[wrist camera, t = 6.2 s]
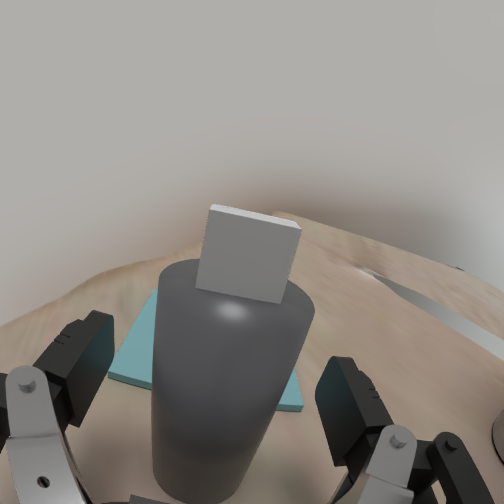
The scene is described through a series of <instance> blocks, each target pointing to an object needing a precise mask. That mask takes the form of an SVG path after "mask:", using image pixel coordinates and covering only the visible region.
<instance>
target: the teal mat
mask: <svg viewBox="0 0 504 504" xmlns="http://www.w3.org/2000/svg"><path fill="white" fill-rule="evenodd" d="M157 292H158V289H157V288H155V289H154V291H153V292H152V294H151V296H150V297H149V299H148V301H147V302H146V304H145V306H144V307H143V309H142V311H141V312H140V314H139V316H138V317H137V319H136V321H135V323H134V324H133V326H132V328H131V330H130V331H129V333H128V335H127V337H126V338H125V340H124V342H123V344H122V345H121V347H120V349H119V351H118V353H117V354H116V356H115V358H114V360H113V362H112V364H111V366H110V368H109V370H108V378H112V379H115V380H118V381H121V382H125V383H128V384H132V385H136V386H139V387H143V388H147V389H151V390H152V361H153V342H154V327H155V314H156V303H157ZM303 406H304V404H303V400H302V396H301V392H300V388H299V384H298V380H297V376H296V372H295V369H293V371H292V374H291V376H290V378H289V381H288V383H287V386H286V388H285V390H284V393H283V395H282V397H281V400H280V402H279V404H278V406H277V409H276V410H282V411H298V412H301V410H302V408H303Z"/></svg>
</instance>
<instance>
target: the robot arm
mask: <svg viewBox="0 0 504 504" xmlns="http://www.w3.org/2000/svg"><path fill="white" fill-rule="evenodd" d="M114 351H115V347H114V318H113V316H112V315H109V314H106V313H102V312H99V311H96V310H93V311H91V312H90V314H89V315H88V316H87V317H86V318H85V319H84V321H82V320H79V319H78V320H76V321H74V322H72V323H70V324H68V325H66V327H65V328H64V329H63V330H62V331H61V332H60V335H58V336H57V337H56V338H55V339H54V342H53V341H52V343H51V344H50V345H49V346H48V347H47V349H46V350H45V351H44V352H43V353H42V355H41V356H40V357H39V358H38V359H37V361H36V362H35V363H34V364H33V366H20V367H17V368H15V369H13V370H12V371H11V372H10V373H9V374H4V373H0V453H1V451H2V449H3V447H4V445H5V443H6V448H7V454H8V459H9V464H10V468H11V473H12V477H13V481H14V485H15V488H16V492H17V495H18V499H19V502H20V504H94V502H93V499H92V497H91V495H90V493H89V491H88V489H87V488H86V486H85V484H84V481H83V479H82V477H81V475H80V472H79V470H78V467H77V465H76V462H75V459H74V457H73V454H72V451H71V448H70V445H69V443H68V440H67V436H66V433H65V430H66V428H67V426H68V424H71V425H73V426H76V427H78V428H79V427H80V425H81V423H82V421H83V419H84V417H85V415H86V413H87V411H88V409H89V407H90V405H91V403H92V401H93V399H94V397H95V395H96V393H97V391H98V389H99V387H100V385H101V383H102V381H103V379H104V377H105V376H106V374H107V372H108V370H109V368H110V366H111V364H112V361H113V358H114ZM379 397H380V396H379V394H378V392H377V391H375V387H374V385H373V383H372V381H371V379H370V378H369V377H367V376H366V375H365V374H364V373H363V372H362V371H359V370H358V368H357V366H356V364H355V362H354V360H353V359H352V358H350V357H337V356H332V357H331V358H330V359H329V361H328V363H327V365H326V367H325V370H324V372H323V374H322V376H321V378H320V380H319V382H318V384H317V387H316V390H315V401H316V404H317V408H318V411H319V414H320V418H321V421H322V425H323V428H324V431H325V435H326V438H327V442H328V445H329V449H330V452H331V456H332V459H333V463H334V466H335V467H338V466H347V468H348V471H347V472H346V473H345V474H344V476H343V478H342V480H341V482H340V483H339V485H338V487H337V489H336V490H335V492H334V494H333V496H332V497H331V499H330V501H329V502H328V504H438V502H437V499H436V497H435V494H434V492H433V489H432V487H431V485H432V484H434V483H435V482H436V481H437V480H439V482H440V484H441V487H442V489H443V491H444V494H445V496H446V504H495V503H494V501H493V499H492V497H491V495H490V492H489V490H488V488H487V486H486V484H485V482H484V480H483V479H482V477H481V475H480V473H479V471H478V469H477V467H476V465H475V463H474V462H473V460H472V458H471V456H470V454H469V452H468V451H467V449H466V447H465V445H464V444H463V442H462V440H461V439H460V438H459V437H458V436H456V435H455V434H453V433H450V432H442V433H440V434H438V435H437V437H436V438H435V439H434V440H433V441H423V440H416V438H415V436H414V434H413V433H412V432H411V431H410V430H408V429H407V428H405V427H403V426H400V425H394V423H393V421H392V419H391V417H390V415H389V413H388V411H387V409H386V407H385V406H384V404H383V402H382V400H381V398H379ZM9 436H11V437H10V438H8V437H9ZM493 439H494V444H495V446H496V449H497V451H498V453H499V455H500V457H501V459H502V460H503V461H504V410H503V411H502V413H501V414H500V415H499V416H498V418H497V419H496V421H495V422H494V425H493ZM102 504H169V503H164V502H159V501H155V500H151V499H146V498H142V497H139V496H135V495H131V497H130V501H129V502H109V503H102Z"/></svg>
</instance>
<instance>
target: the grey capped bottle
mask: <svg viewBox="0 0 504 504" xmlns="http://www.w3.org/2000/svg"><path fill="white" fill-rule="evenodd" d="M301 231H302V229H301V228H300V227H299V226H298V224H297V223H296V222H295V221H290V220H286V219H282V218H277V217H273V216H268V215H264V214H259V213H255V212H250V211H246V210H241V209H236V208H232V207H227V206H222V205H217V204H213V205H212V206H211V208H210V210H209V215H208V219H207V225H206V230H205V235H204V240H203V246H202V251H201V257H200V259H190V260H184V261H180V262H177V263H174V264H172V265H170V266H168V267H167V268H165V269H164V270H163V271H162V272H161V274H160V276H159V283H158V292H157V303H156V314H155V327H154V342H153V361H152V397H151V424H152V457H153V472H154V476H155V478H156V480H157V482H158V484H159V485H160V487H161V488H162V489H163V490H164V491H165V492H166V493H167V494H169V495H170V496H171V497H173V498H175V499H177V500H179V501H181V502H184V503H187V504H216V503H219V502H222V501H224V500H226V499H227V498H229V497H230V496H231V495H232V494H233V493H234V492H235V491H236V489H237V488H238V486H239V484H240V482H241V480H242V478H243V476H244V475H245V473H246V471H247V469H248V467H249V465H250V463H251V461H252V459H253V457H254V455H255V453H256V451H257V449H258V447H259V445H260V443H261V441H262V439H263V437H264V435H265V432H266V430H267V428H268V426H269V424H270V422H271V420H272V417H273V415H274V413H275V411H276V409H277V406H278V404H279V402H280V400H281V397H282V395H283V393H284V390H285V388H286V386H287V383H288V381H289V378H290V376H291V374H292V371H293V369H294V366H295V364H296V361H297V359H298V356H299V354H300V351H301V349H302V346H303V344H304V341H305V338H306V336H307V333H308V331H309V328H310V325H311V322H312V320H313V317H314V313H315V309H314V305H313V302H312V300H311V299H310V297H309V296H308V295H307V294H306V293H305V292H304V291H303V290H302V289H301V288H299V287H298V286H297V285H295V284H294V283H292V282H291V281H289V280H288V277H289V274H290V270H291V267H292V263H293V260H294V256H295V253H296V249H297V246H298V242H299V238H300V235H301Z"/></svg>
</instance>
